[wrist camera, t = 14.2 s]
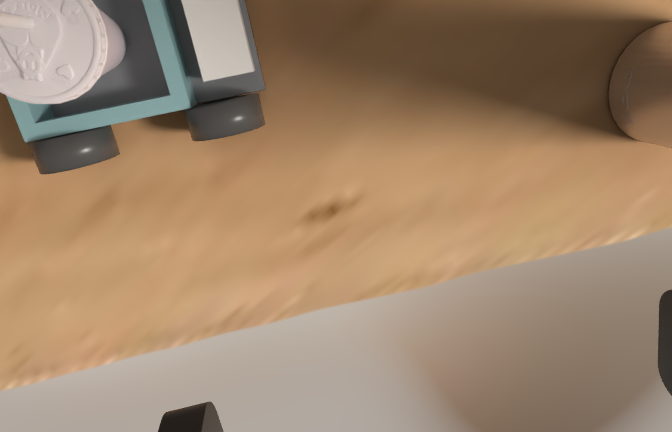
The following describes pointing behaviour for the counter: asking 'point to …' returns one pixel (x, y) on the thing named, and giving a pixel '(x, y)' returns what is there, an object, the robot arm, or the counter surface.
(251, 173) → the counter surface
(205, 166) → the counter surface
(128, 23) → the chassis
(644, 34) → the robot arm
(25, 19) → the smoothie
